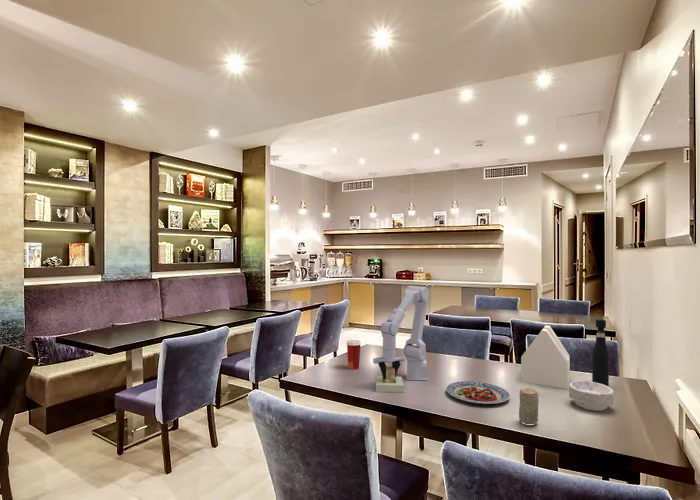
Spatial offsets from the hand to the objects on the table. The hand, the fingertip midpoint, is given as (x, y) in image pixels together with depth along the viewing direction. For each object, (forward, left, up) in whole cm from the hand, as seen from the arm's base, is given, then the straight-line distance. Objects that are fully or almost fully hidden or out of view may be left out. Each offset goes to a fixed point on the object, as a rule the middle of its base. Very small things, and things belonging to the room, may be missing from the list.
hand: (389, 378), depth 178 cm
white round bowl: (-79, +17, -4) cm, 81 cm away
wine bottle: (-97, -8, -4) cm, 97 cm away
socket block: (0, 0, -4) cm, 4 cm away
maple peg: (0, 0, -3) cm, 3 cm away
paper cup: (+17, -28, -4) cm, 33 cm away
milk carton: (-75, -14, -4) cm, 76 cm away
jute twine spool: (-48, +34, -4) cm, 59 cm away
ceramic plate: (-37, +8, -4) cm, 38 cm away
